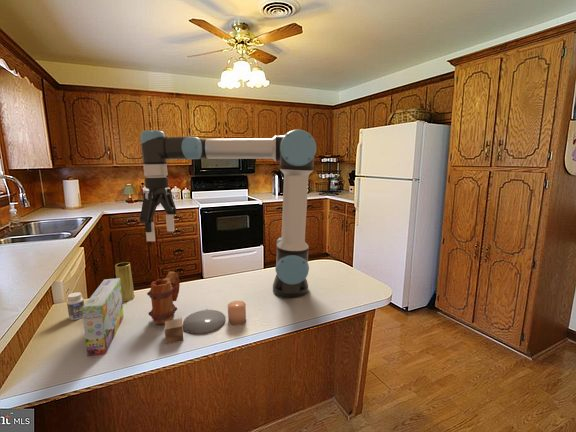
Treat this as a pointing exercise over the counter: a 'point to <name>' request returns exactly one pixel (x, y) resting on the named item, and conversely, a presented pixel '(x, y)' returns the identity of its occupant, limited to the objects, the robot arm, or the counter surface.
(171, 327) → the walnut block
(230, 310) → the peach rounded cylinder
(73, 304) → the pill bottle
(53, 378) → the counter surface
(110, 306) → the snack box
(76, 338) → the counter surface
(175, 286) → the mug
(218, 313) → the gray ellipsoid
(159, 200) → the robot arm
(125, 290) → the vase
